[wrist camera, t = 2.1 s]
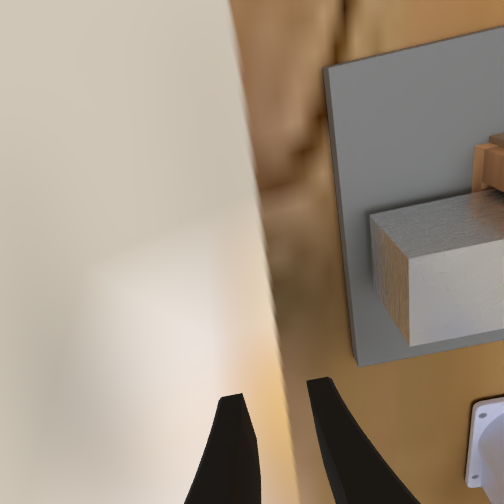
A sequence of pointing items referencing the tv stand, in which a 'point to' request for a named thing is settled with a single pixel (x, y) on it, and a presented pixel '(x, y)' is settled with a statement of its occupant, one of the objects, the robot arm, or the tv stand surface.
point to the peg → (441, 266)
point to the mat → (407, 158)
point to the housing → (489, 164)
